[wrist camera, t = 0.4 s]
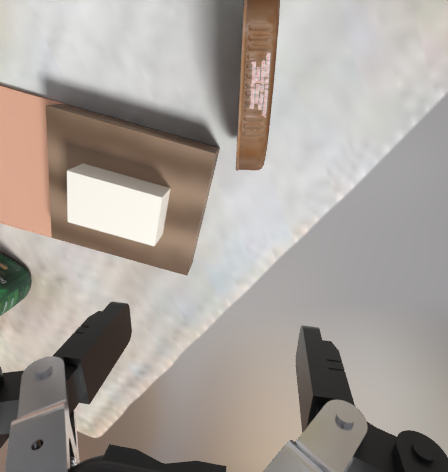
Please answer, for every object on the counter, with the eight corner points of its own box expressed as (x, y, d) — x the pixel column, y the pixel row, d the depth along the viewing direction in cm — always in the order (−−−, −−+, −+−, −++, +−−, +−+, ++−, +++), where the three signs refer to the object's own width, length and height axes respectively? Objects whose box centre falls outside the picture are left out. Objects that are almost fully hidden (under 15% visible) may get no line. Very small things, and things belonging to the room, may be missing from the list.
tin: (244, -12, 26) (236, -49, 19) (280, -12, 26) (286, -49, 18) (236, 158, 33) (228, 181, 26) (264, 160, 33) (264, 183, 25)
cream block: (83, 163, 32) (66, 170, 30) (170, 188, 32) (162, 197, 30) (82, 211, 35) (67, 222, 33) (162, 234, 35) (154, 246, 33)
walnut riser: (63, 103, 32) (45, 105, 30) (219, 148, 33) (215, 153, 30) (65, 227, 40) (51, 237, 38) (192, 262, 40) (187, 275, 38)
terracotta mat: (-56, 69, 32) (-59, 69, 32) (63, 103, 32) (61, 103, 32) (-28, 213, 41) (-31, 214, 41) (65, 239, 41) (64, 240, 41)
